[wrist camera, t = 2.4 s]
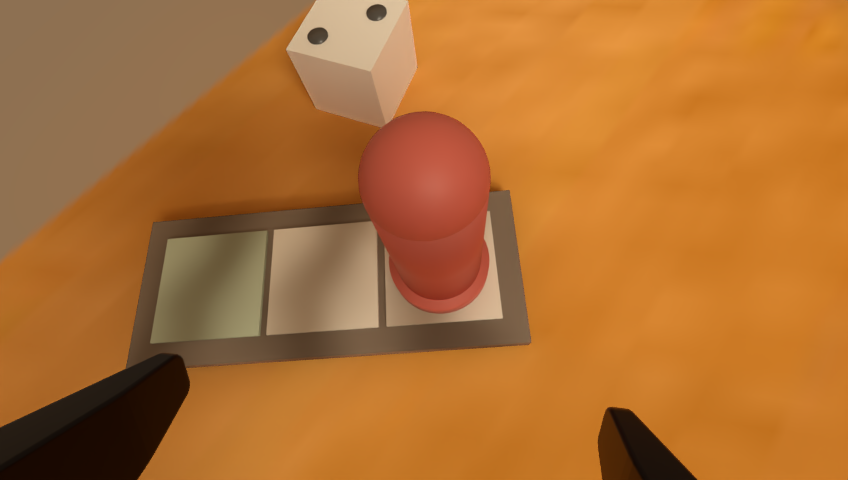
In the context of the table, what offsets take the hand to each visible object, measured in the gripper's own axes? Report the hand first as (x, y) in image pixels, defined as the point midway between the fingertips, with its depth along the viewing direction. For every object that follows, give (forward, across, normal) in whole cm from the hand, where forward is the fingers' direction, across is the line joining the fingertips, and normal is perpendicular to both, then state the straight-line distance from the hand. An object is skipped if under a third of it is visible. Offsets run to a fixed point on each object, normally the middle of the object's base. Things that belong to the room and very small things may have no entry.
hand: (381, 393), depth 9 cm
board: (+12, +6, +5) cm, 15 cm away
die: (+22, +6, -4) cm, 23 cm away
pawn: (+12, 0, +4) cm, 13 cm away
